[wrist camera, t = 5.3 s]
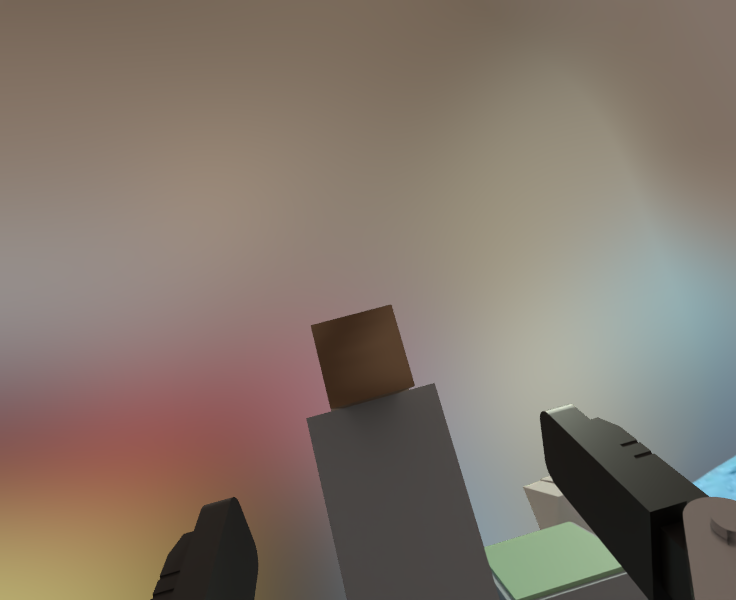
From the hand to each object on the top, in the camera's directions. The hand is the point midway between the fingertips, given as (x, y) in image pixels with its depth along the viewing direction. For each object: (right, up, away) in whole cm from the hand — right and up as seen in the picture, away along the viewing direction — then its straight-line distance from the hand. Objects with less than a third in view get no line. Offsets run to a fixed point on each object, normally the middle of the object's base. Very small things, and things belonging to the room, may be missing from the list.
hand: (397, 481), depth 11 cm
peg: (-1, -1, +12) cm, 11 cm away
